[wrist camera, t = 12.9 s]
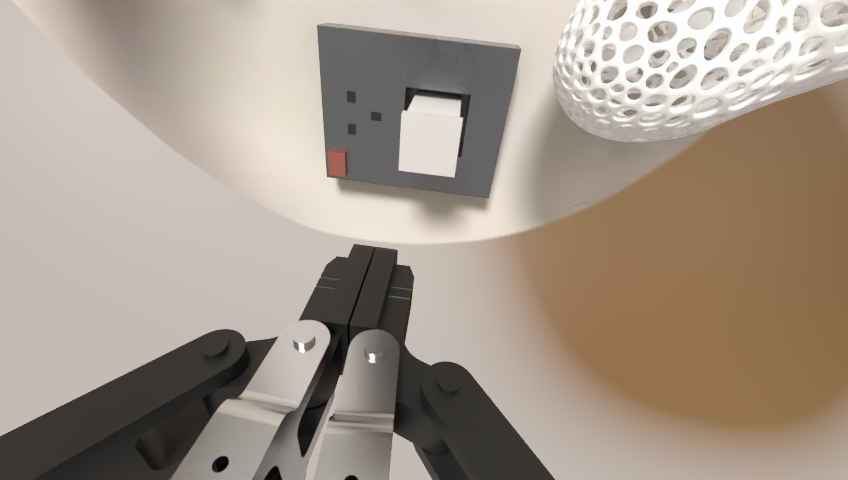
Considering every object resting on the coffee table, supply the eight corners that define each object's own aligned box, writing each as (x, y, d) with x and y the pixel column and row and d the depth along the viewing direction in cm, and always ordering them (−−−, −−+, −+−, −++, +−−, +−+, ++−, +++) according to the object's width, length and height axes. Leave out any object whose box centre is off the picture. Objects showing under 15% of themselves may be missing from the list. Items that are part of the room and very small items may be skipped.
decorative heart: (791, -164, 22) (1342, -428, 8) (788, 18, 27) (1129, 47, 13) (508, -3, 28) (547, 3, 14) (548, 122, 33) (607, 218, 19)
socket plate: (334, 166, 38) (325, 179, 35) (327, 22, 30) (314, 25, 28) (487, 186, 37) (488, 200, 35) (517, 45, 30) (521, 50, 28)
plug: (411, 136, 35) (398, 170, 28) (415, 88, 32) (401, 113, 26) (457, 142, 35) (454, 177, 28) (464, 94, 32) (462, 120, 26)
